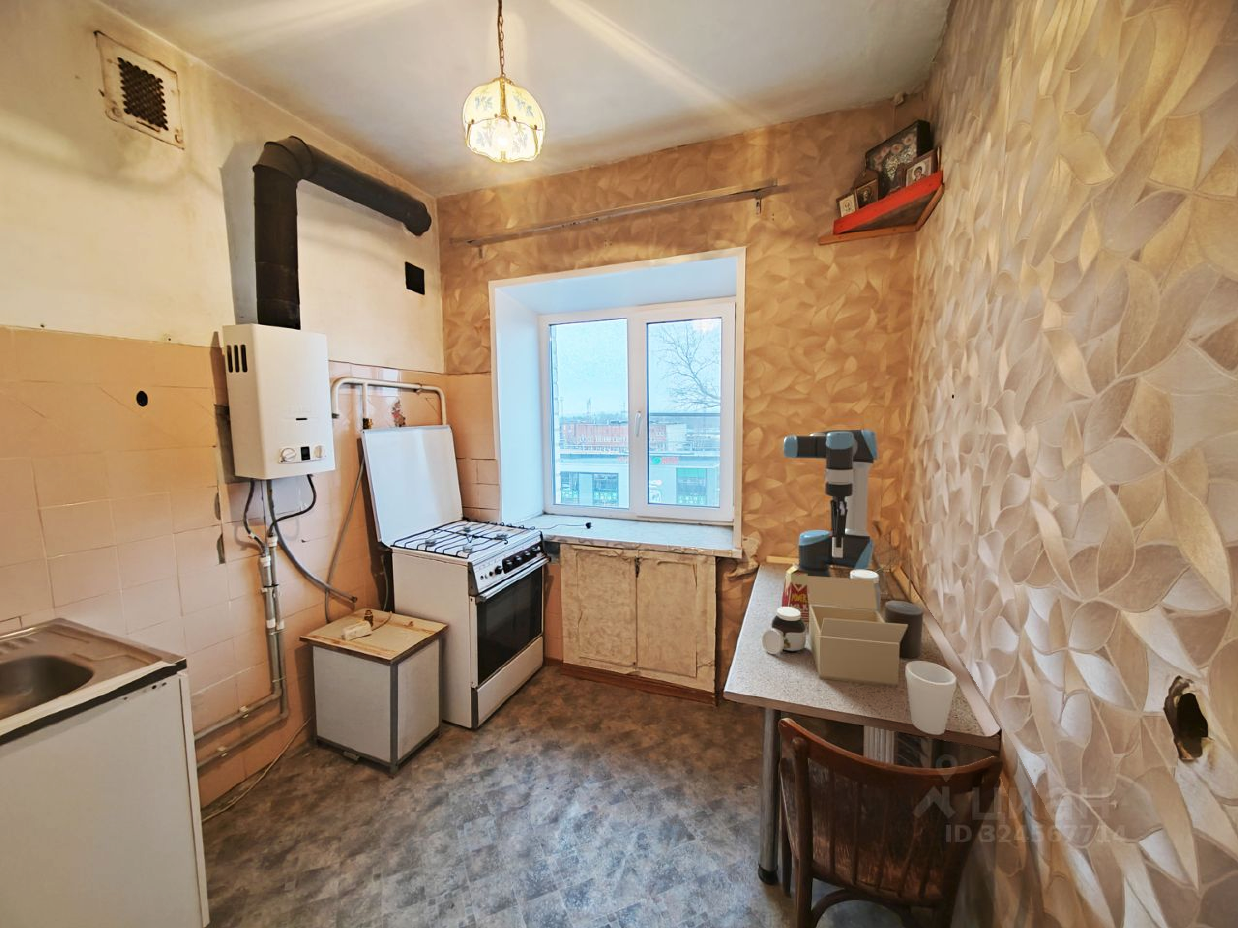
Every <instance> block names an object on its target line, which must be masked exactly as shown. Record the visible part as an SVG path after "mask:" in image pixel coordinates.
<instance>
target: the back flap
mask: <svg viewBox="0 0 1238 928" xmlns="http://www.w3.org/2000/svg"><path fill="white" fill-rule="evenodd" d="M807 578H808V592H809V593H808V596H809V605H812V606H825V607H838V608H847V607H850V608H863V609H876V610H877V603H876V596H875V588H874V581H873V580H867V579H851V578H850V577H849V578H848V577H816V576H807Z"/></svg>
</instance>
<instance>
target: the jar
mask: <svg viewBox="0 0 1238 928" xmlns="http://www.w3.org/2000/svg"><path fill="white" fill-rule="evenodd" d="M849 575H850V576H849V578H850V579H867V580H873V581H874V588H875V596H876V603H877V611H878V613H879V614H880V615H881V601H882V600H881V599H882V589H881V587H880V586H879V585H880V583H879V582H880V581H879V580H880V575H879V574H878V573H877V572H875V571H872V570H869V569H866V570H862V569H853V570H851V571H850V573H849ZM846 608H850V607H846ZM851 609H863V608H851ZM865 610H876V609H865Z"/></svg>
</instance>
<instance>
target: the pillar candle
mask: <svg viewBox="0 0 1238 928" xmlns="http://www.w3.org/2000/svg"><path fill="white" fill-rule="evenodd" d="M923 616H924V610H923V609H922V607H920V606H919V605H916V604H913V603H910V602H906V601H901V600H890V601H887V602H885V604H884V616H883V617H884V618H883V620H884V622H885V623H896V624H908V627H907V629H906V631H905V633H904V635H903V637H902V639H901V642H900V643H899V644H900V647H899V659H900V658H901V659H903V660H904V659H905V660H915V659H916V660H917V659H919V658H920V657H921V652H922V651H921V650H922V636H923V619H924V617H923Z"/></svg>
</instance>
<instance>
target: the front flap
mask: <svg viewBox="0 0 1238 928" xmlns="http://www.w3.org/2000/svg"><path fill="white" fill-rule="evenodd" d="M907 627H908V624H896V623H884V622H871V621H859V620H847V619H835V618H824V620H823V624H822V629H821V633H820V636H826V637H837V638H848V639H859V640H870V641H881V642H892V643H900V642H901V639H902V637H903V635H904V633H905V631H906V629H907Z"/></svg>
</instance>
